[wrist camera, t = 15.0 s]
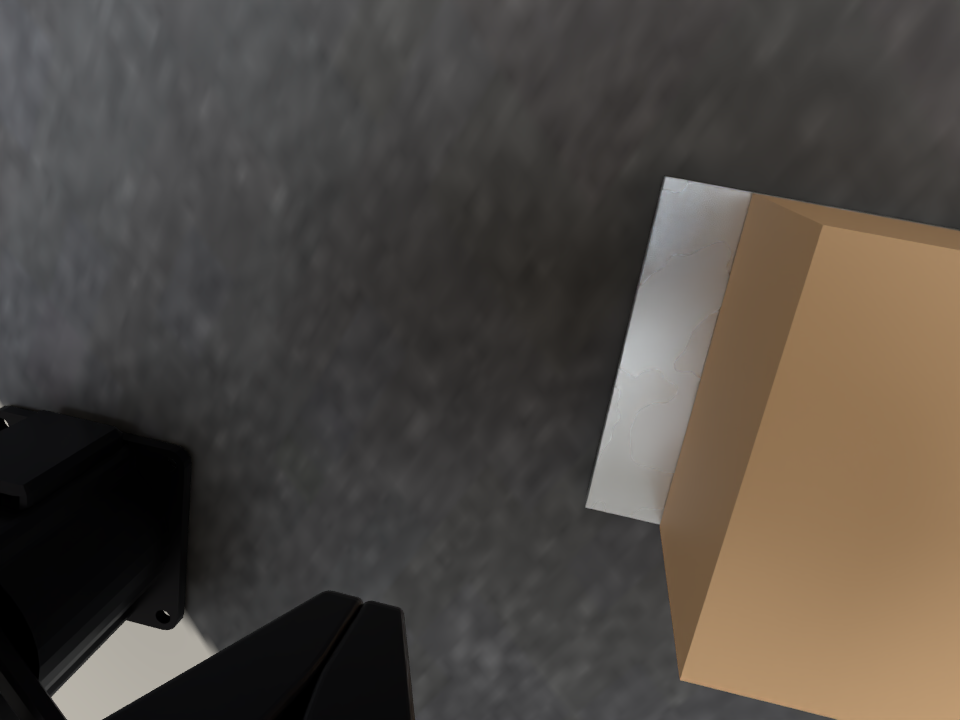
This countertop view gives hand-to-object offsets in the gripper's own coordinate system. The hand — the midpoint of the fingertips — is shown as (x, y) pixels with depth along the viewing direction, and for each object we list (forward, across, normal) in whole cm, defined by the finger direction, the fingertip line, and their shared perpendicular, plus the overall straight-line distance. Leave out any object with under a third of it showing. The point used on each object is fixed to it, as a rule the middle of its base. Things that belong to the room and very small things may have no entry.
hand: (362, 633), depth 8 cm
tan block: (+12, -9, 0) cm, 15 cm away
